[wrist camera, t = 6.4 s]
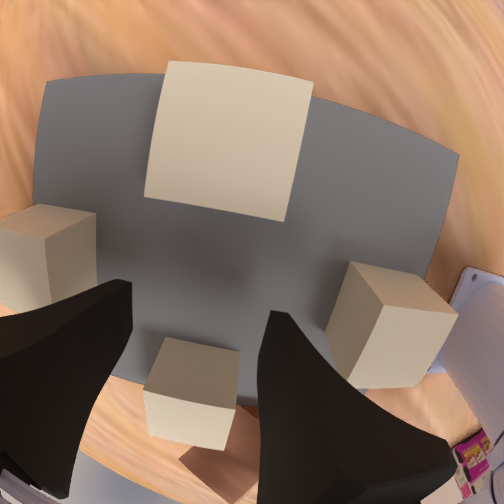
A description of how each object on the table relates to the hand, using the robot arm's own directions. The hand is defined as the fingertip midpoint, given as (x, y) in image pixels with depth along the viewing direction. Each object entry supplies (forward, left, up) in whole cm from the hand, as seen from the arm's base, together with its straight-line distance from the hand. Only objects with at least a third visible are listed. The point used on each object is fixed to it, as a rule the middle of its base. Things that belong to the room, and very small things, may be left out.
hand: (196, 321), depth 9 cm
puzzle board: (0, 0, -4) cm, 4 cm away
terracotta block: (-5, +10, -2) cm, 11 cm away
